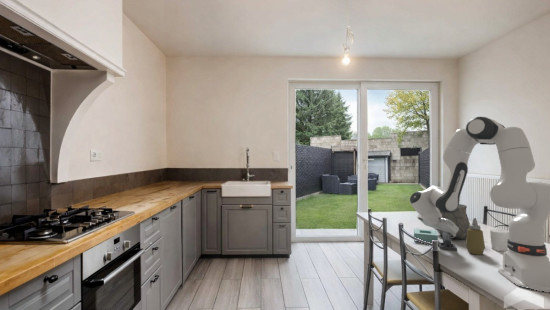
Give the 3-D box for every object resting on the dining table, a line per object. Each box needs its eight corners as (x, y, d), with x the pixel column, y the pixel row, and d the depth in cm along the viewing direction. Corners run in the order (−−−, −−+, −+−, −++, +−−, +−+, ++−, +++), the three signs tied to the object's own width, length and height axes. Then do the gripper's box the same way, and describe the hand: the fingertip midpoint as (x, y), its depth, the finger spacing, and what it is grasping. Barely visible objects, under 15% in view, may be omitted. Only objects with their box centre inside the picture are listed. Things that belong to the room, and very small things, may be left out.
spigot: (452, 249, 151) (451, 223, 151) (443, 248, 152) (443, 222, 152) (451, 247, 154) (450, 221, 154) (442, 246, 156) (442, 221, 156)
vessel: (427, 236, 175) (427, 204, 175) (439, 230, 190) (439, 201, 190) (468, 244, 159) (468, 209, 159) (478, 237, 174) (477, 204, 174)
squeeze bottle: (468, 254, 142) (468, 219, 142) (463, 249, 150) (463, 216, 150) (487, 256, 139) (487, 220, 140) (481, 251, 147) (481, 217, 147)
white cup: (512, 252, 145) (512, 233, 145) (495, 251, 147) (495, 232, 147) (503, 247, 153) (503, 229, 153) (487, 246, 155) (487, 228, 155)
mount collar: (457, 251, 148) (457, 248, 148) (439, 249, 151) (439, 246, 151) (454, 246, 155) (454, 243, 155) (438, 244, 159) (438, 242, 159)
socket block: (437, 244, 159) (437, 235, 160) (414, 241, 165) (414, 233, 165) (435, 238, 170) (435, 230, 170) (413, 236, 175) (413, 228, 176)
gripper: (452, 215, 141) (467, 233, 144) (421, 208, 161) (434, 224, 164) (445, 225, 140) (460, 243, 143) (414, 217, 160) (428, 232, 162)
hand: (446, 233), depth 153 cm, fingers open, 8 cm apart
